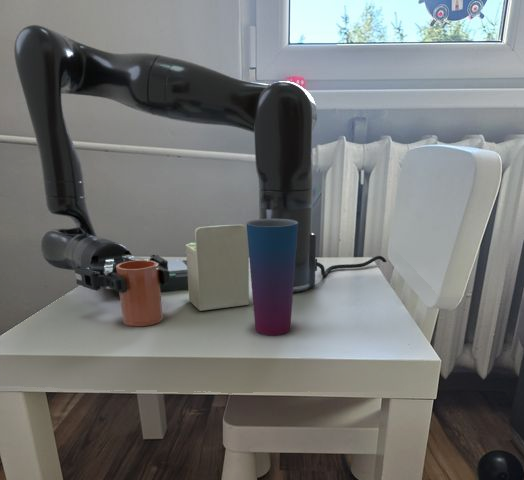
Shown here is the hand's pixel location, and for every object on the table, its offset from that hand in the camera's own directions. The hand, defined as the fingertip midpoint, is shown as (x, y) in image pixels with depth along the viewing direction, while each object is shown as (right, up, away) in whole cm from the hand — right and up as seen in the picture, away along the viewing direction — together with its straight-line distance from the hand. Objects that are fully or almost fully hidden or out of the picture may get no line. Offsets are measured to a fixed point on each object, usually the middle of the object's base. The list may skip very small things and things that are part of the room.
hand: (145, 281), depth 71 cm
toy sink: (+10, -2, +12) cm, 15 cm away
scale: (-4, +3, +24) cm, 25 cm away
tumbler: (-1, -5, +4) cm, 7 cm away
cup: (+18, -7, 0) cm, 20 cm away
